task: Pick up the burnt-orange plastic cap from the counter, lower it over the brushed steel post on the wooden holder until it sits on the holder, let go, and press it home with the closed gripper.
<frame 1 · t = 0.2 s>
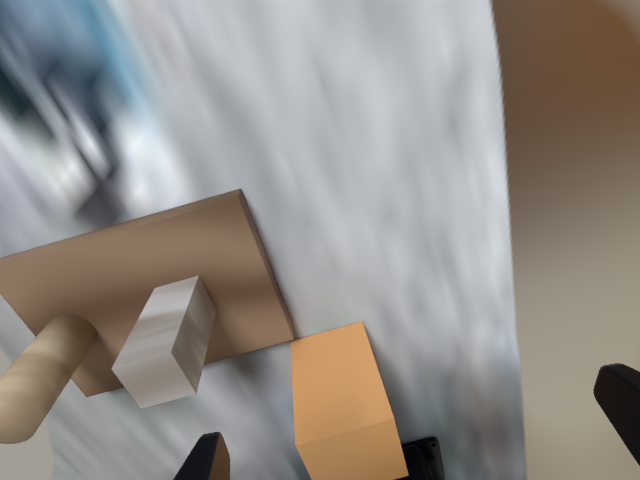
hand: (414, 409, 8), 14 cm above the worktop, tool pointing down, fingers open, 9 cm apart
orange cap: (335, 357, 26), on the worktop
wooden holder: (161, 294, 22), on the worktop
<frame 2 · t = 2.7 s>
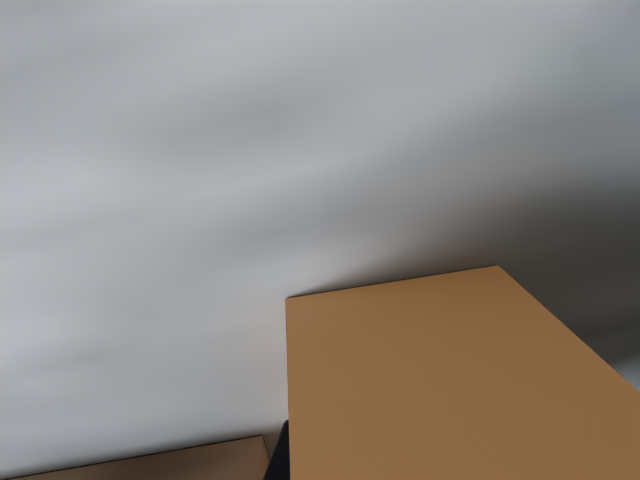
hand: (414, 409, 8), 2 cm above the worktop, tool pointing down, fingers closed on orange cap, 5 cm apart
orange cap: (395, 362, 10), on the worktop, touching gripper
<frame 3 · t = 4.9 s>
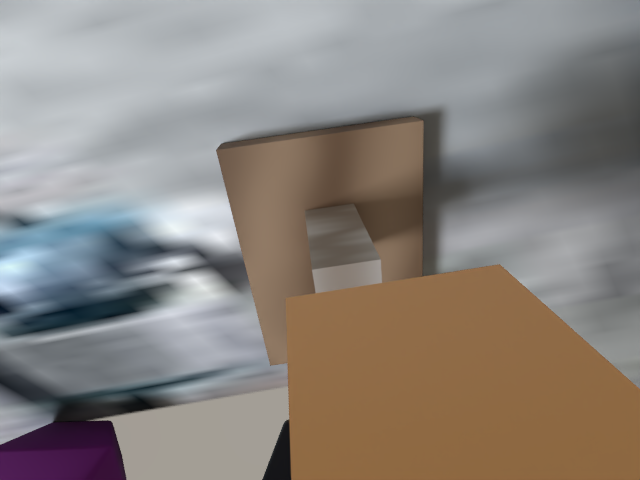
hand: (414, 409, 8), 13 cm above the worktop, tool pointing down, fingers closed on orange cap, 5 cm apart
perfume bottle: (89, 437, 27), on the worktop
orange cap: (396, 361, 10), point 12 cm above the worktop, touching gripper
wooden holder: (332, 249, 22), on the worktop
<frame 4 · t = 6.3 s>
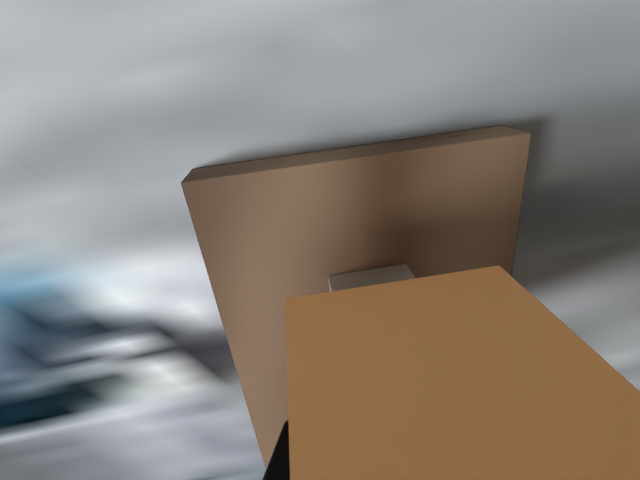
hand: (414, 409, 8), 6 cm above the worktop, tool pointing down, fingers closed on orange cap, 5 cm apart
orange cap: (395, 362, 10), point 4 cm above the worktop, touching gripper
wooden holder: (363, 321, 15), on the worktop
when the fingers open (4 cm above the worktop, at t = 7.5 s): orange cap drops 1 cm, resting on wooden holder.
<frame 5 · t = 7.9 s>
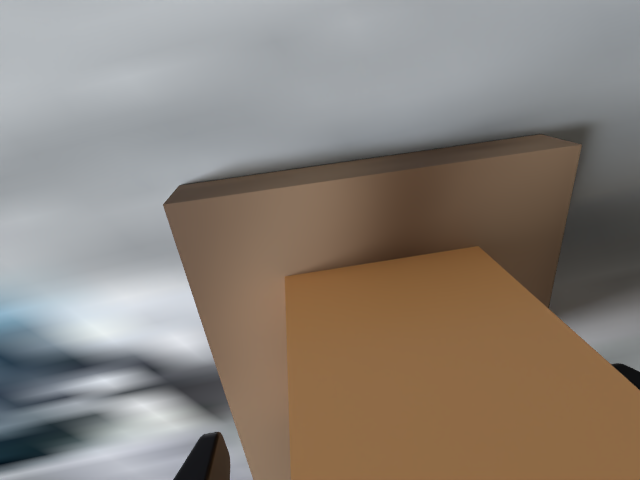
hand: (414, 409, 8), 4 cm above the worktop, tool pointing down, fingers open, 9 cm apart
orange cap: (386, 337, 11), point 1 cm above the worktop, touching wooden holder
wooden holder: (376, 353, 13), on the worktop
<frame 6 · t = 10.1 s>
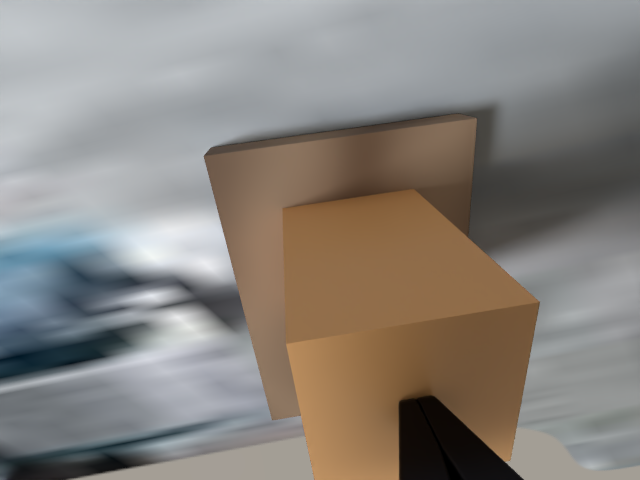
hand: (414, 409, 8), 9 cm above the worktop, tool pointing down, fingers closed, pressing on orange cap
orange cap: (353, 256, 15), point 1 cm above the worktop, touching gripper, wooden holder
wooden holder: (350, 278, 17), on the worktop
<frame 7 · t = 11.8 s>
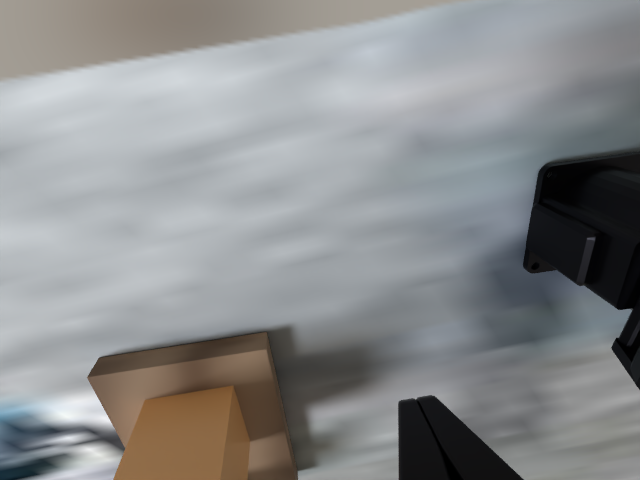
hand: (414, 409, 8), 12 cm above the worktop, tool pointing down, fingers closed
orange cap: (200, 421, 22), point 1 cm above the worktop, touching wooden holder
wooden holder: (211, 422, 25), on the worktop
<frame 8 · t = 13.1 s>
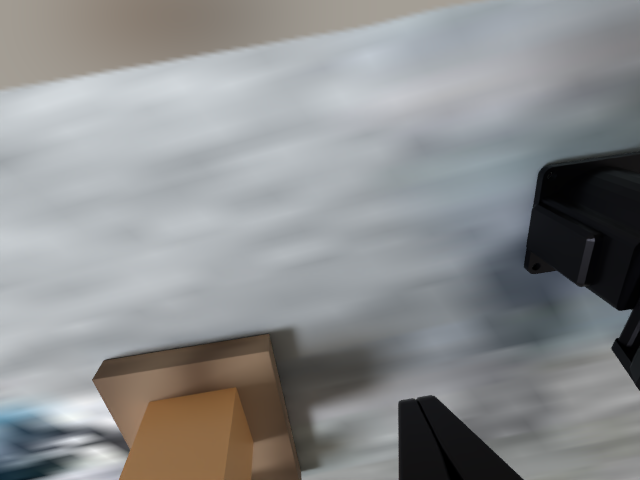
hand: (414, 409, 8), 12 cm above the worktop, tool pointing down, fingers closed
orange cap: (204, 423, 23), point 1 cm above the worktop, touching wooden holder
wooden holder: (215, 423, 25), on the worktop
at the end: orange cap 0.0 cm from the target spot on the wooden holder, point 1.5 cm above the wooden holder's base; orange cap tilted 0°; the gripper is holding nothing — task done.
